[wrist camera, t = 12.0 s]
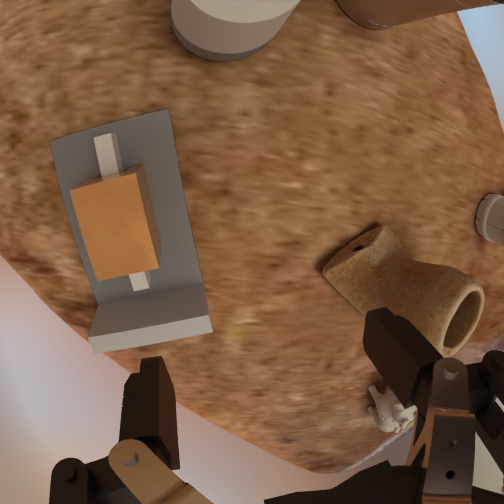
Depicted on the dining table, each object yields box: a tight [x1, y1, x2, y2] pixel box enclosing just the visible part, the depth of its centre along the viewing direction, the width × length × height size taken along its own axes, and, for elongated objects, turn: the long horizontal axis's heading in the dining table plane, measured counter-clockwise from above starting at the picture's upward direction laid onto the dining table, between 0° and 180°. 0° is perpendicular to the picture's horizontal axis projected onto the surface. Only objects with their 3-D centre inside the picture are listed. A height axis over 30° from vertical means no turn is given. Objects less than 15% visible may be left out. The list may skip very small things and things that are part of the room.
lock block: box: [70, 163, 162, 281], centre depth 27 cm, size 8×6×6 cm
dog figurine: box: [367, 385, 417, 433], centre depth 46 cm, size 5×13×11 cm, turn 14°
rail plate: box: [50, 109, 213, 353], centre depth 28 cm, size 20×12×7 cm, turn 7°
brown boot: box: [322, 224, 484, 358], centre depth 33 cm, size 15×12×15 cm
